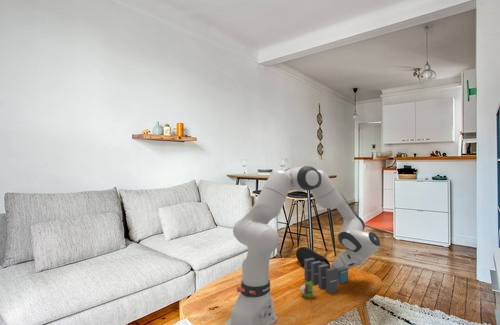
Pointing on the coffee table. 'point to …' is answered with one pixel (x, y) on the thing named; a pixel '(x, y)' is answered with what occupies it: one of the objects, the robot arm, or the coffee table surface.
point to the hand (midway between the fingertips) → (341, 269)
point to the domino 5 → (343, 276)
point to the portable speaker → (310, 256)
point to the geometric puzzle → (307, 289)
